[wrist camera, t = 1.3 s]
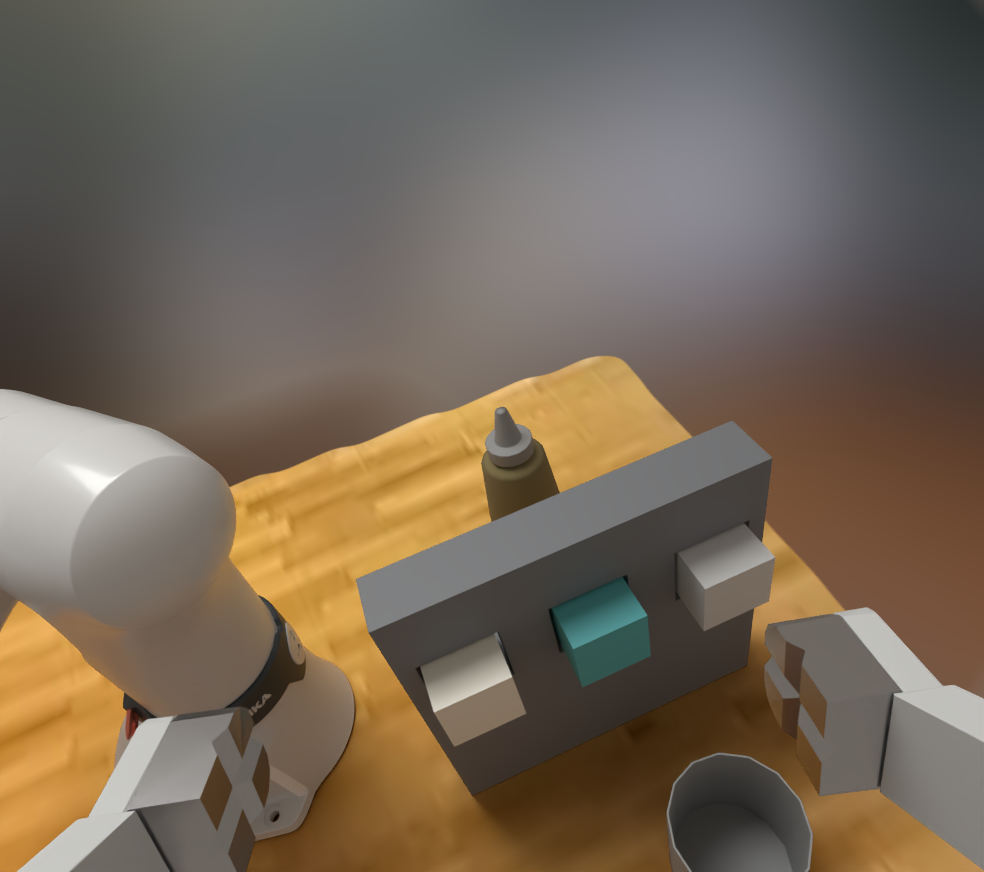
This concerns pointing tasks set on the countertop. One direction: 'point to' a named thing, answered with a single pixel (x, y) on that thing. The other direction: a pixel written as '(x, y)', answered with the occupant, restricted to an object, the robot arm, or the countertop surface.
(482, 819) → the countertop surface
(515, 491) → the squeeze bottle
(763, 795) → the cup
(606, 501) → the button panel
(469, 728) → the cream push-block
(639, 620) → the teal push-block
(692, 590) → the light grey push-block
